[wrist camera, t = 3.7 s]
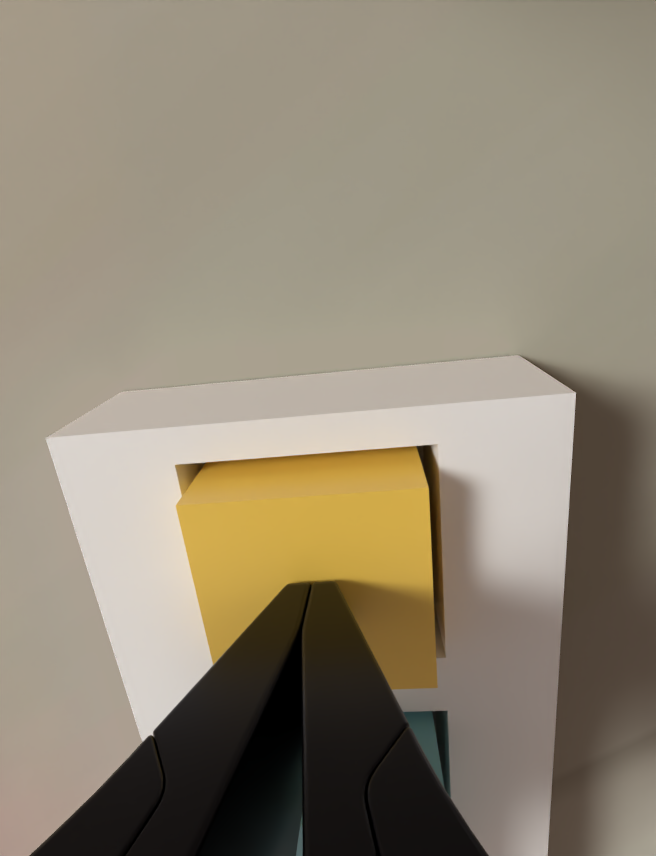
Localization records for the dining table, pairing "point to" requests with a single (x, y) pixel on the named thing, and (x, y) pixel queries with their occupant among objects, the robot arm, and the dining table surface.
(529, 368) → the button panel
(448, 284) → the dining table surface
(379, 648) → the amber button
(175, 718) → the robot arm
